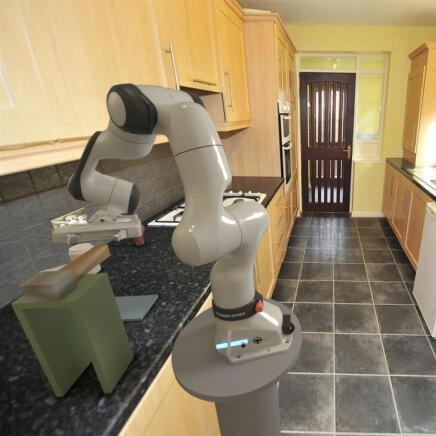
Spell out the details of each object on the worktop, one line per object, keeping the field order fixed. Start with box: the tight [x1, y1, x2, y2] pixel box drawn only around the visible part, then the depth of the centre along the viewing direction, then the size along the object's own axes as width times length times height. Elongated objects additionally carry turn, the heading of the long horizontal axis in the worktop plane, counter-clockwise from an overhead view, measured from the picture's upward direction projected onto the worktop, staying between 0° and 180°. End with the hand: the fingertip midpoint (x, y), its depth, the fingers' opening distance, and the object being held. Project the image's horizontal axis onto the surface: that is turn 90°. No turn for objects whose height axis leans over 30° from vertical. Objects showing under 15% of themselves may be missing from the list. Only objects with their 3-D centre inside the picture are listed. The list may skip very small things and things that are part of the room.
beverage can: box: [68, 242, 102, 274], centre depth 109 cm, size 8×8×12 cm
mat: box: [114, 294, 159, 323], centre depth 89 cm, size 16×12×1 cm
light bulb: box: [133, 223, 146, 246], centre depth 132 cm, size 7×7×12 cm
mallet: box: [18, 244, 111, 303], centre depth 60 cm, size 6×19×4 cm, turn 4°
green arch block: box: [10, 272, 135, 398], centre depth 61 cm, size 12×10×26 cm
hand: (94, 240), depth 70 cm, fingers open, 8 cm apart
